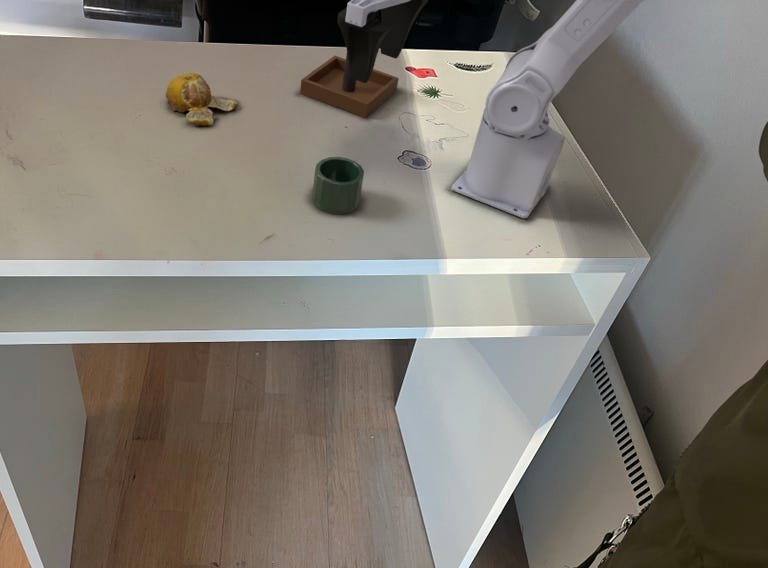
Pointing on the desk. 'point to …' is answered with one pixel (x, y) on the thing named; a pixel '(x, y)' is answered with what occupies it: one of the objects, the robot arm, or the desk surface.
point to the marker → (348, 79)
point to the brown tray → (360, 102)
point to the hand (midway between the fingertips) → (374, 67)
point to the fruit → (195, 98)
